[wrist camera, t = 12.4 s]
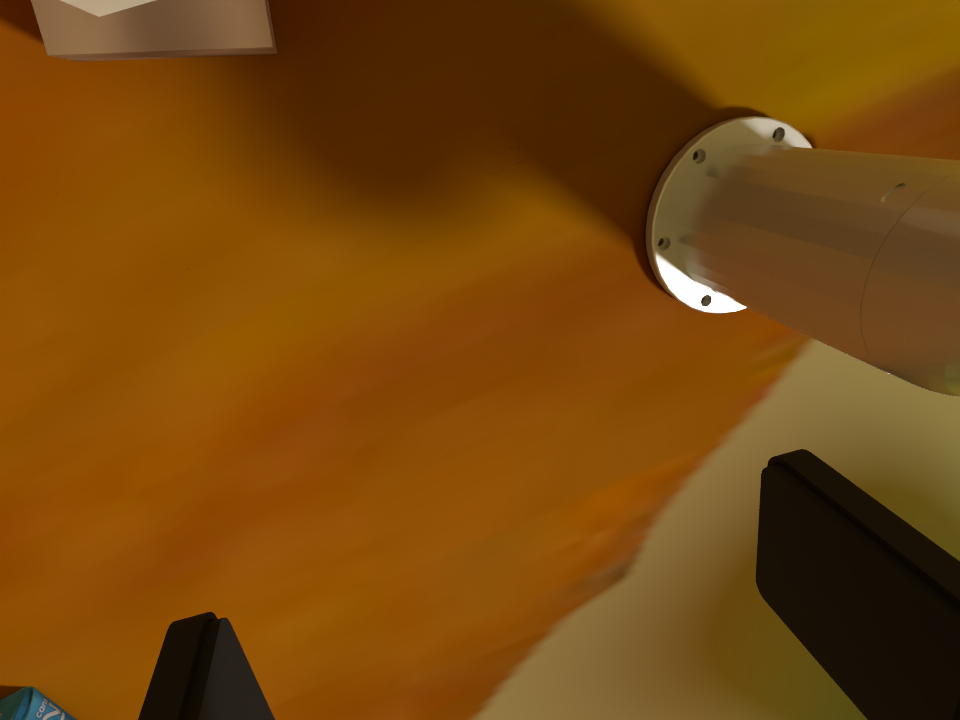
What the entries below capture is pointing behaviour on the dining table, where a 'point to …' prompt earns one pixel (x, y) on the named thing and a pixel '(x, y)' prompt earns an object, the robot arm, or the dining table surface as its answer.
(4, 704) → the soda box
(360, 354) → the dining table surface
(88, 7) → the cream cube
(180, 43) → the walnut base
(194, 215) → the dining table surface
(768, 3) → the dining table surface
